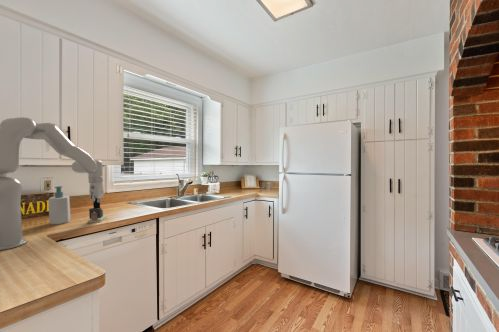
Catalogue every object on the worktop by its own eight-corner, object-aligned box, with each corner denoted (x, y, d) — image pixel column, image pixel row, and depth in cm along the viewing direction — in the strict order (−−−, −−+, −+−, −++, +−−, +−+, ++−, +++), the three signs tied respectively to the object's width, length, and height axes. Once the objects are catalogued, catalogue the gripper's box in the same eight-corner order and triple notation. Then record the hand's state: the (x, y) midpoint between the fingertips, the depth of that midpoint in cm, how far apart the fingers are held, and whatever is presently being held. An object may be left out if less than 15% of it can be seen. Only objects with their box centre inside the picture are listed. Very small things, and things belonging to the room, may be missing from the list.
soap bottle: (67, 219, 153) (66, 185, 152) (73, 221, 148) (71, 186, 146) (47, 223, 145) (45, 186, 143) (52, 225, 139) (50, 188, 138)
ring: (89, 218, 146) (89, 209, 146) (90, 217, 148) (90, 208, 148) (100, 218, 147) (100, 208, 147) (101, 217, 149) (101, 207, 149)
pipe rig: (87, 222, 145) (87, 212, 145) (94, 218, 155) (94, 208, 154) (100, 221, 147) (100, 212, 146) (106, 217, 156) (106, 208, 156)
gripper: (97, 181, 142) (99, 211, 143) (106, 178, 157) (107, 206, 158) (83, 181, 141) (84, 212, 142) (93, 178, 155) (95, 206, 156)
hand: (96, 208), depth 150 cm, fingers closed
